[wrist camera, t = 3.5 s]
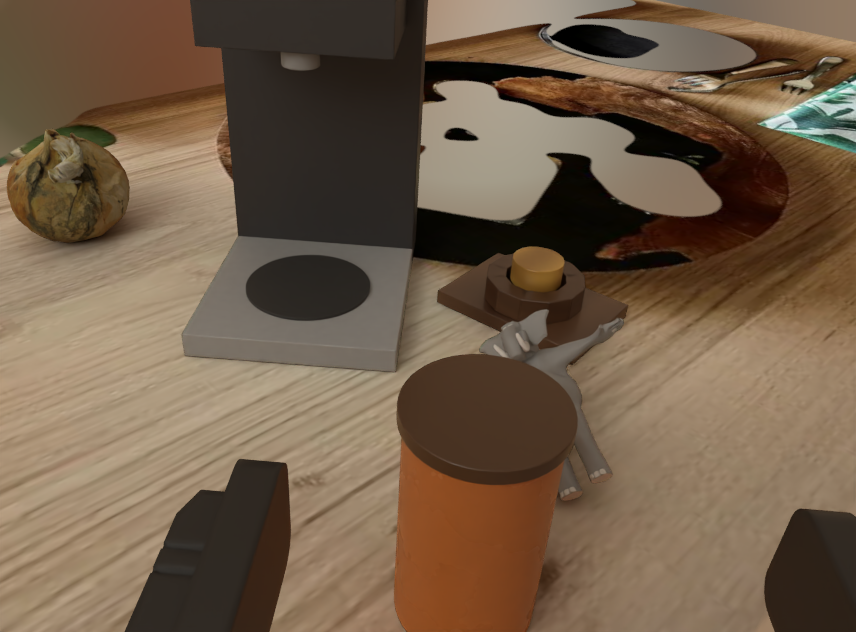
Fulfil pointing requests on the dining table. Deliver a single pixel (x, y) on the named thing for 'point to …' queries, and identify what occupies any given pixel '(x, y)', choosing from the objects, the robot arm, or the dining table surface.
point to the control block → (531, 302)
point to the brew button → (537, 269)
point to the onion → (68, 189)
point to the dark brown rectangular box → (316, 179)
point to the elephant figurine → (523, 347)
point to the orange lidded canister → (477, 491)
